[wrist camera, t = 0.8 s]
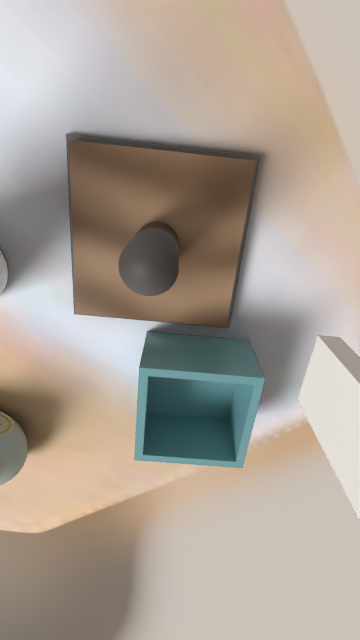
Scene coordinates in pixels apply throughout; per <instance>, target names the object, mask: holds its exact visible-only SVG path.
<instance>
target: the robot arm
mask: <svg viewBox="0 0 360 640" xmlns="http://www.w3.org/2000/svg"><path fill="white" fill-rule="evenodd" d="M298 402H299V404H300V406H301V408H302V410H303V412H304V414H305V416H306V418H307V419H308V421H309V423H310V425H311V427H312V429H313V431H314V433H315V435H316V437H317V439H318V441H319V442H320V444H321V446H322V448H323V450H324V452H325V454H326V456H327V458H328V460H329V462H330V464H331V466H332V467H333V469H334V471H335V473H336V475H337V477H338V479H339V481H340V483H341V485H342V487H343V489H344V490H345V492H346V494H347V496H348V498H349V500H350V502H351V504H352V506H353V508H354V510H355V511H356V513H357V515H358V517H359V519H360V357H359V356H358V355H357V354H356V353H355V352H354V351H353V350H352V349H351V348H350V347H349V346H348V345H347V344H346V343H345V342H344V341H343V340H342V339H341V338H340V337H331V336H320V335H318V336H317V339H316V343H315V346H314V349H313V352H312V355H311V358H310V362H309V365H308V368H307V371H306V374H305V377H304V381H303V384H302V387H301V390H300V393H299V397H298Z"/></svg>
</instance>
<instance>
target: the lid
mask: <svg viewBox="0 0 360 640" xmlns="http://www.w3.org/2000/svg"><path fill="white" fill-rule="evenodd" d="M69 159H70V183H71V207H72V231H73V255H74V279H75V303H76V314H83V315H94V316H106V317H117V318H128V319H139V320H150V321H161V322H172V323H183V324H194V325H205V326H216V327H227V321H228V316H229V310H230V304H231V299H232V293H233V288H234V282H235V276H236V271H237V265H238V259H239V254H240V248H241V243H242V237H243V231H244V226H245V220H246V214H247V209H248V203H249V197H250V192H251V186H252V181H253V175H254V169H255V164H256V161H254V160H245V159H236V158H227V157H218V156H209V155H200V154H191V153H182V152H173V151H164V150H155V149H146V148H137V147H129V146H120V145H111V144H102V143H93V142H84V141H75V140H69Z"/></svg>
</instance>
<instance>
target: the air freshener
mask: <svg viewBox="0 0 360 640" xmlns="http://www.w3.org/2000/svg"><path fill="white" fill-rule="evenodd" d="M27 452H28V446H27V440H26V437H25V434H24V432H23V430H22V429H21V427H20V426H19V425H18V423H17V422H16V421H15V420H14V419H12V418H11V417H10V416H8V415H7V414H5V413H3V412H1V411H0V485H2V484H4V483H6V482H7V481H9V480H11V479H12V478H13V477H14V476H15V475H17V474H18V472H19V471H20V470H21V468H22V467H23V465H24V463H25V461H26V458H27Z"/></svg>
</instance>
